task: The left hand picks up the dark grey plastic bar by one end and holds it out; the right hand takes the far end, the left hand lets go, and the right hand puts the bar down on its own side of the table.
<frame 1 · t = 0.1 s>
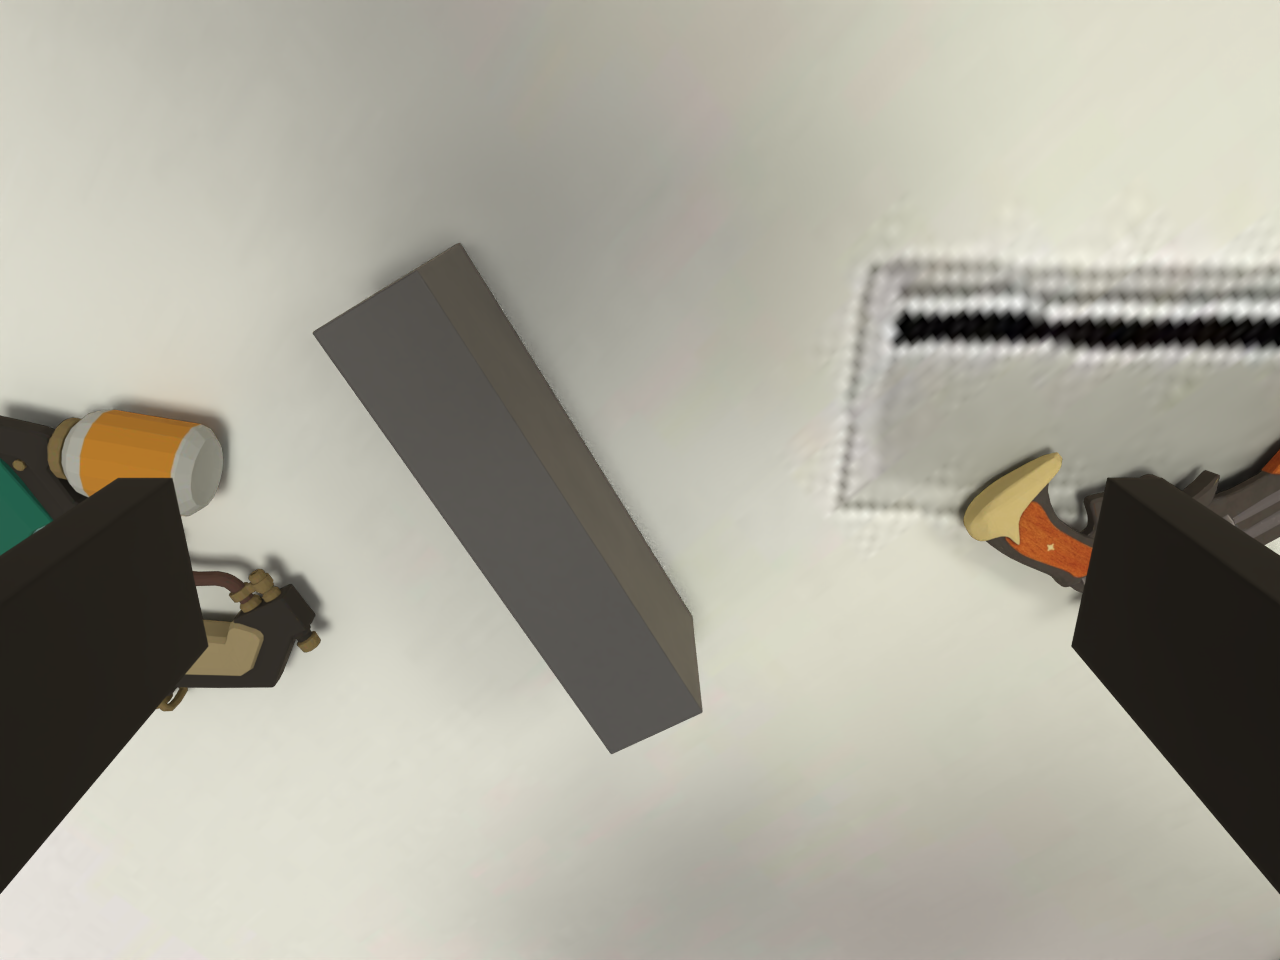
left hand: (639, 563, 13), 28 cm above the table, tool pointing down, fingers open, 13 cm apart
spray gun: (150, 545, 43), on the table
toy gun: (1169, 481, 42), on the table
bar: (545, 467, 42), on the table
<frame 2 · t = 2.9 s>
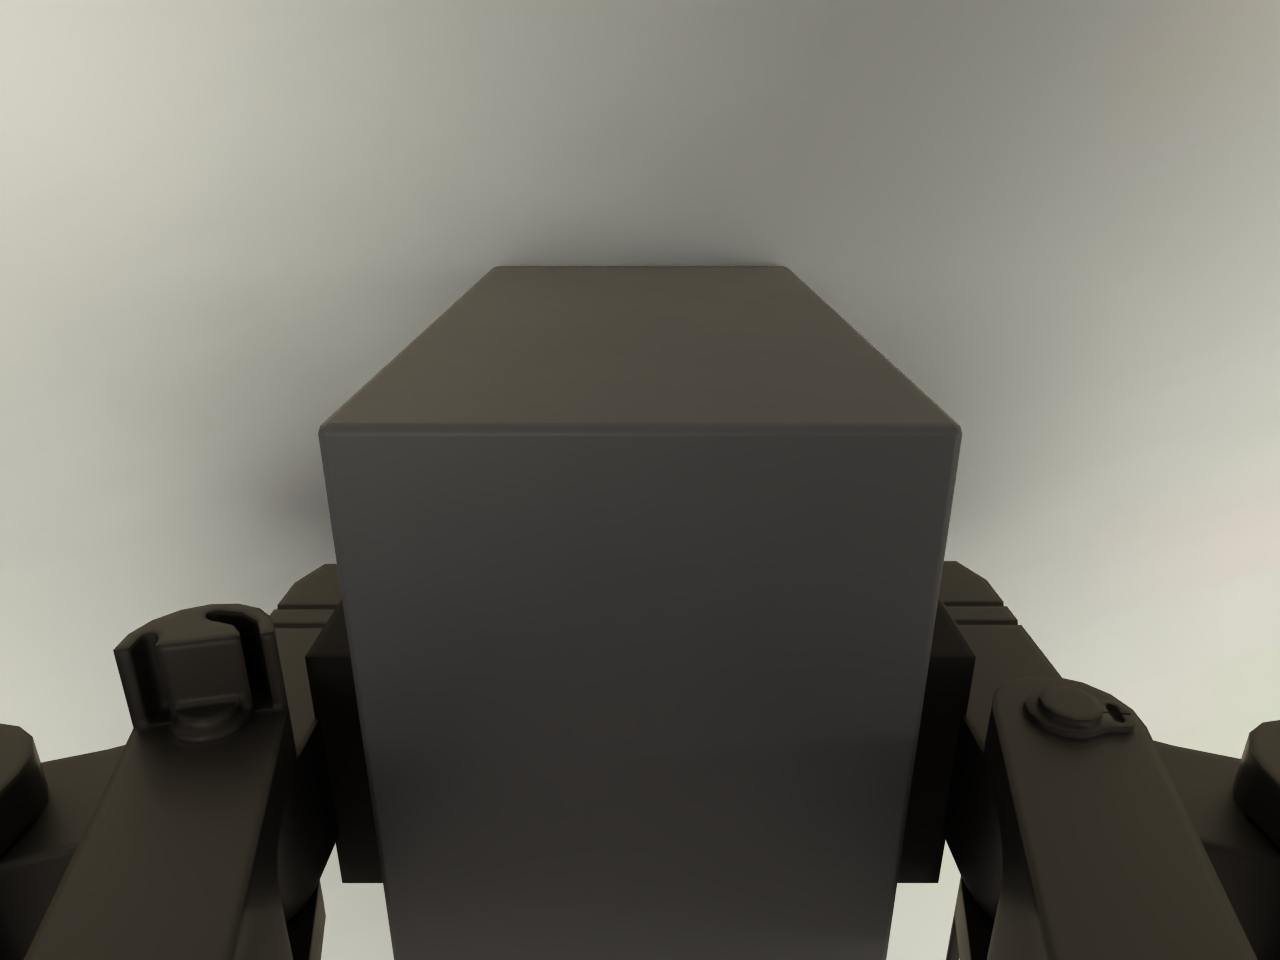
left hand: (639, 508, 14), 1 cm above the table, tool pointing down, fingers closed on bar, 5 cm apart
bar: (640, 812, 17), on the table, touching left hand
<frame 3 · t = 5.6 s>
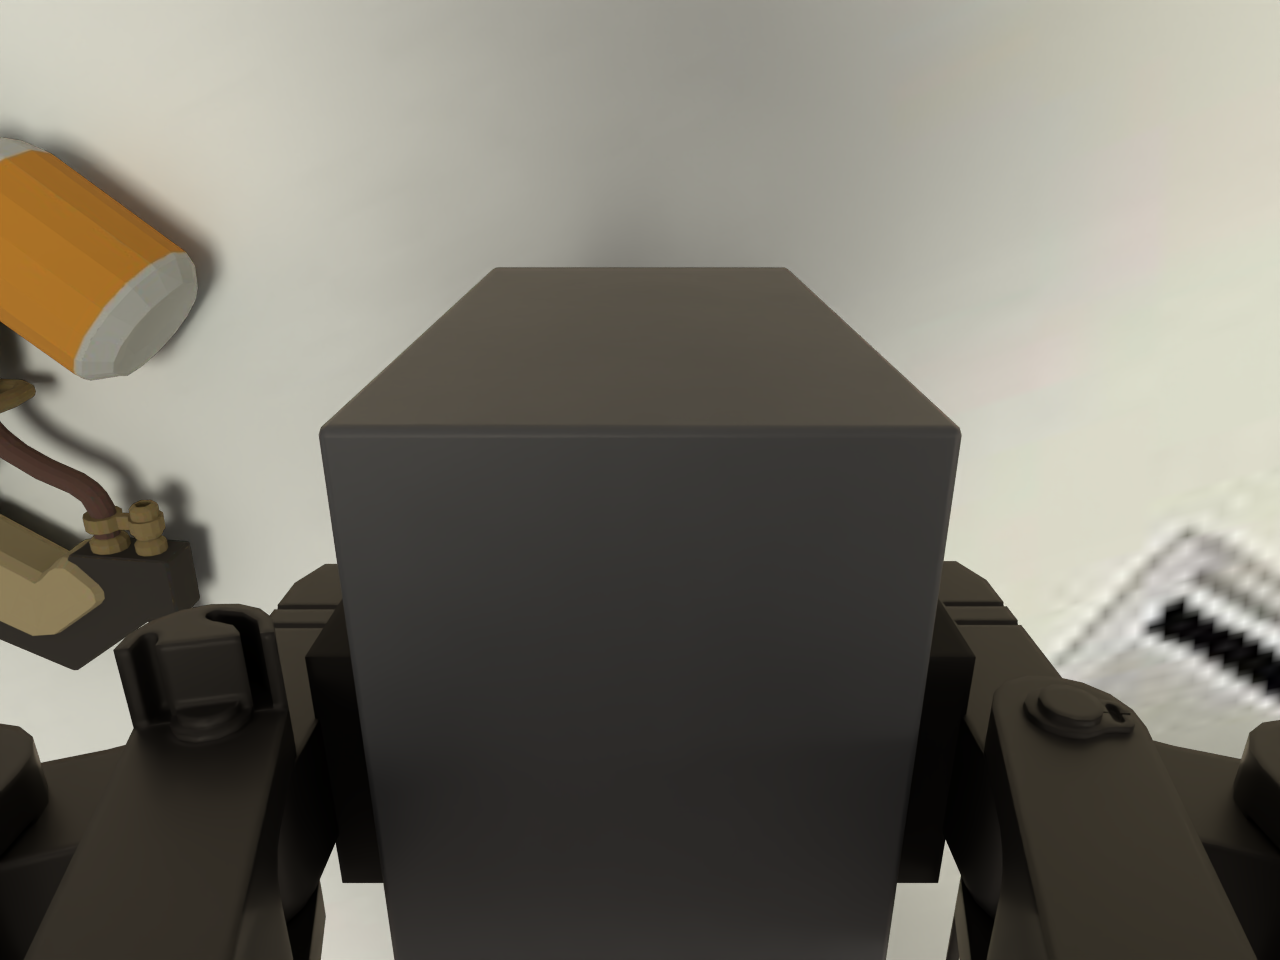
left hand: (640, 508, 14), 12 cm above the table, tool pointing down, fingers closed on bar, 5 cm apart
bar: (640, 812, 18), point 11 cm above the table, touching left hand
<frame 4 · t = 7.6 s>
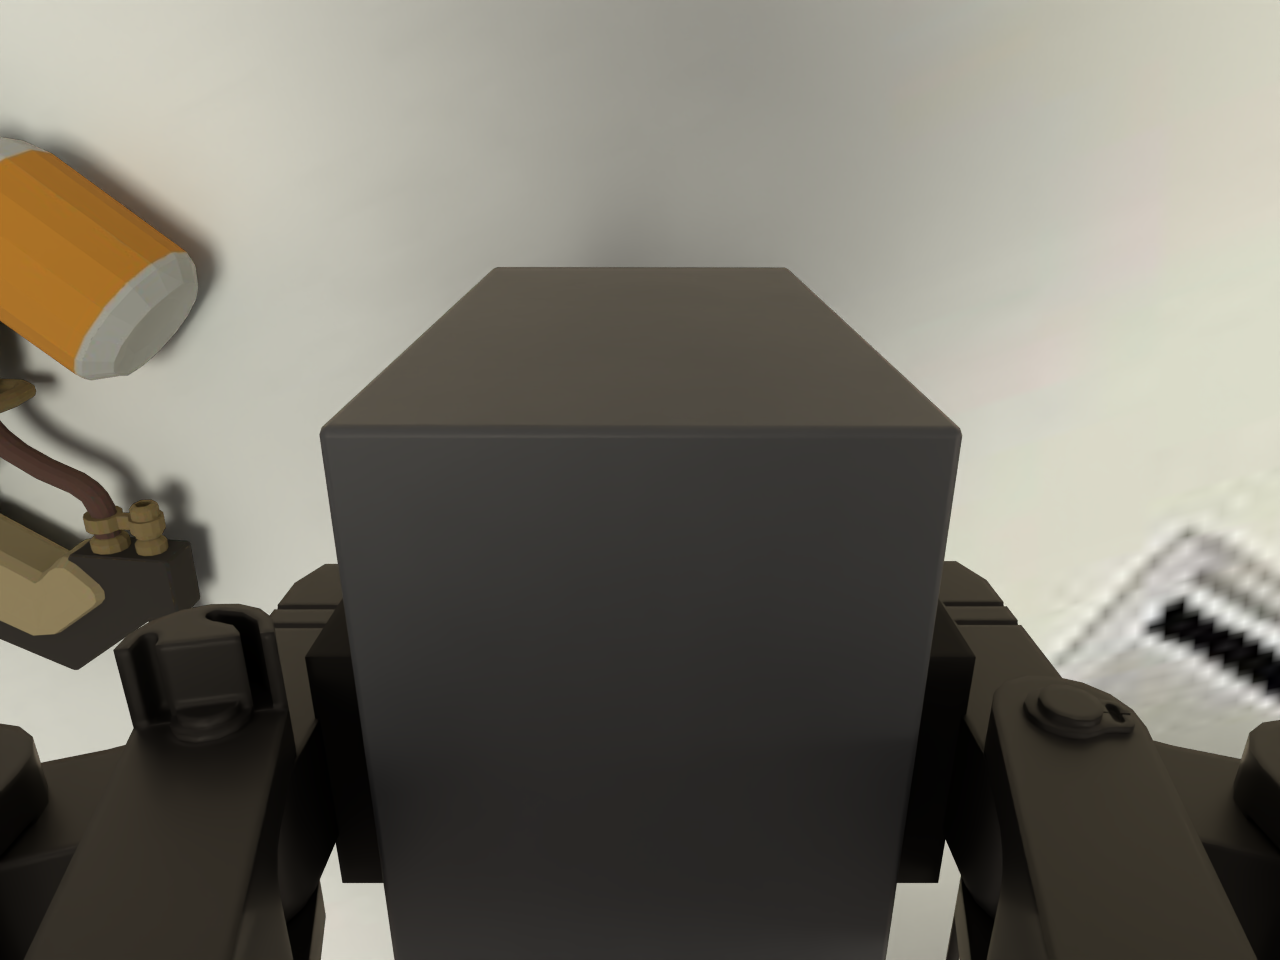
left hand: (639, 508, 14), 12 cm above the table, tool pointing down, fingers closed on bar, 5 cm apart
bar: (640, 812, 18), point 11 cm above the table, touching left hand, right hand
when the left hand's fingers open (12 cm above the table, at t = 8.3 s): bar stays where it is, held by the right hand.
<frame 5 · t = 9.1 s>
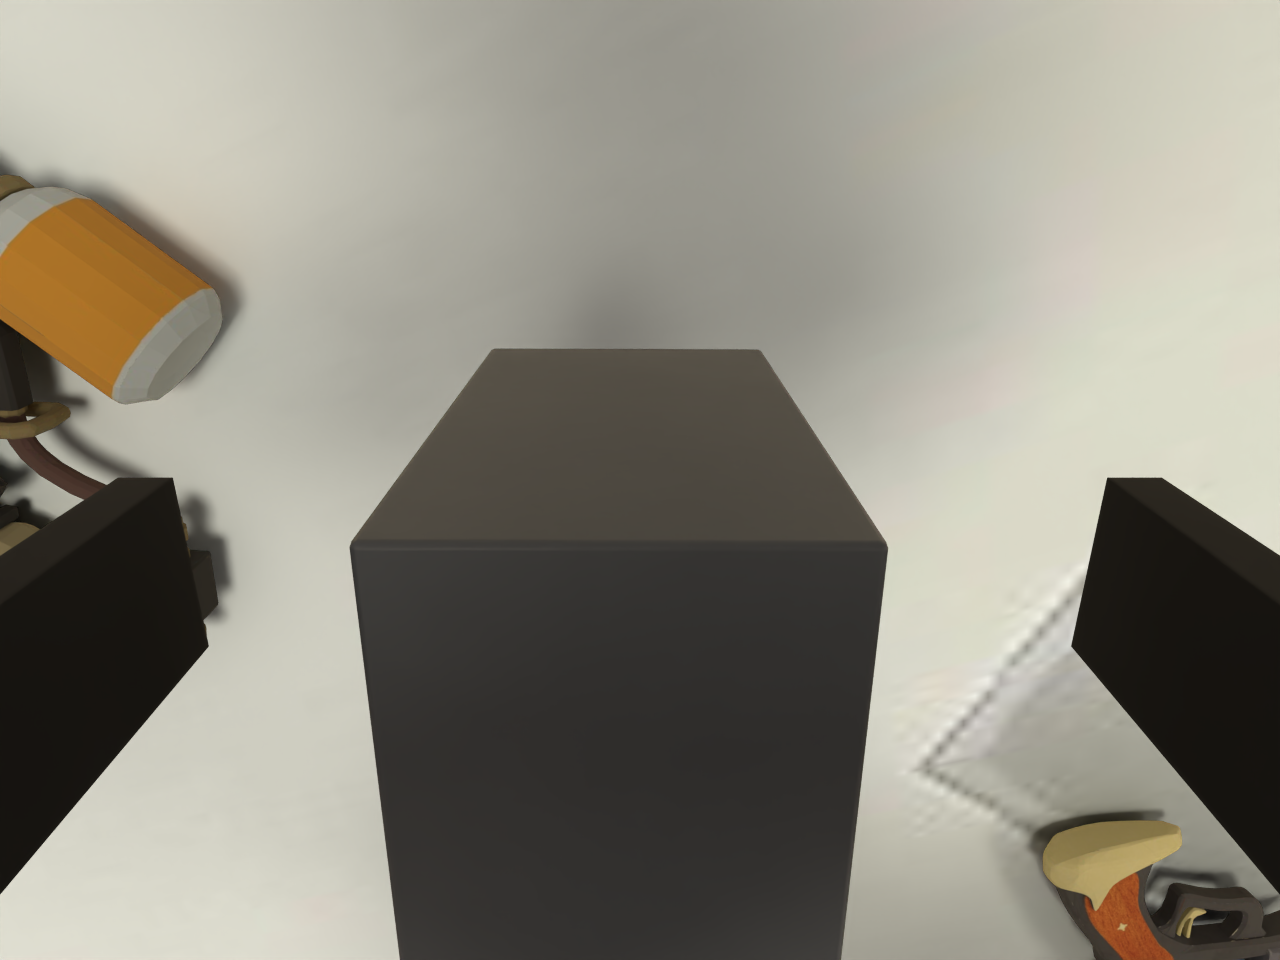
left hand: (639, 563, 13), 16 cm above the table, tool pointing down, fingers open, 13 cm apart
spray gun: (25, 398, 28), on the table
toy gun: (1246, 898, 36), on the table
bar: (626, 848, 19), point 13 cm above the table, touching right hand
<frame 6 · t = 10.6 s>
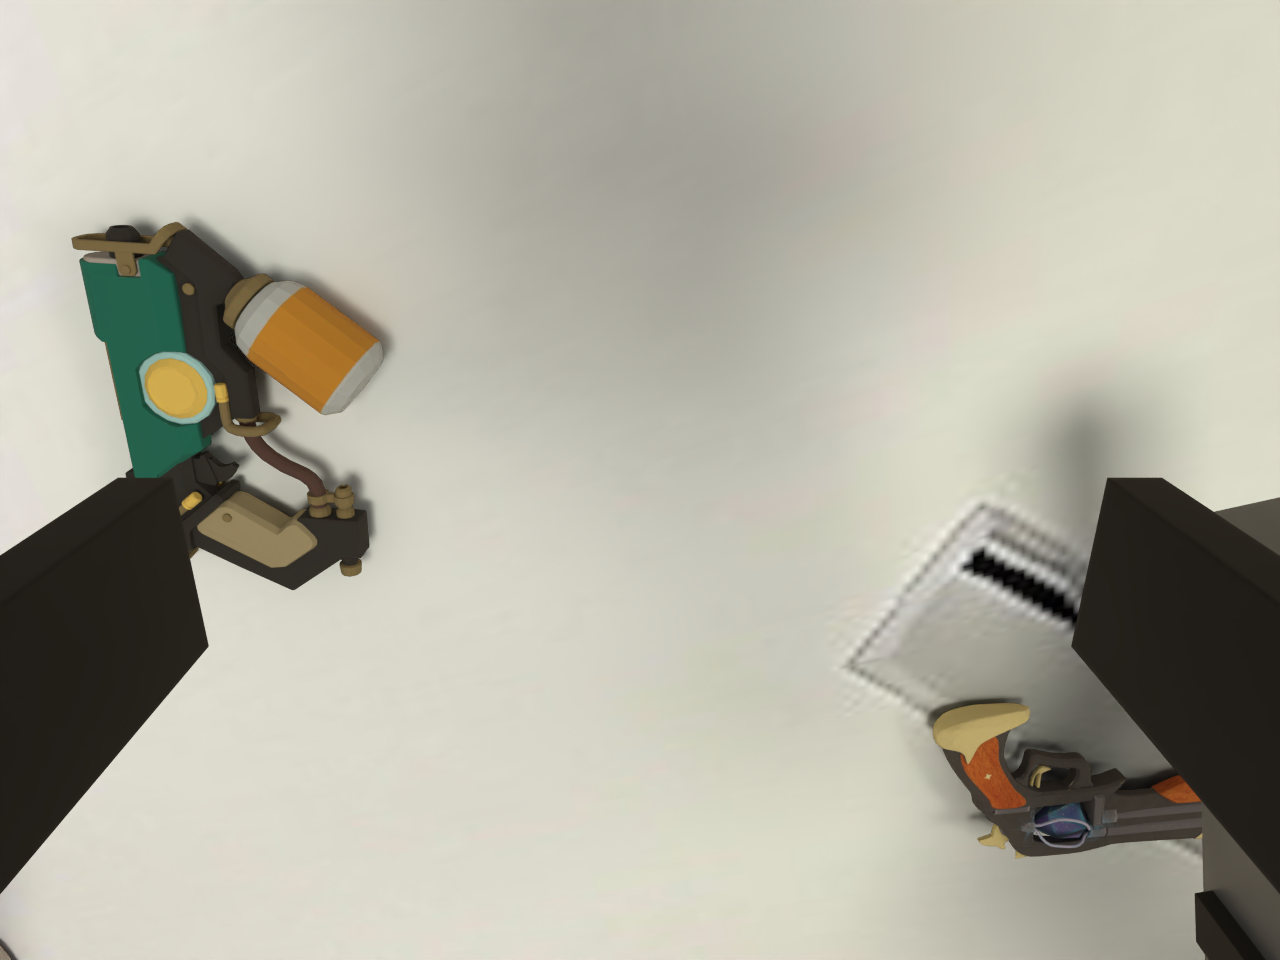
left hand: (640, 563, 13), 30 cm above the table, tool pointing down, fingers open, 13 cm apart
spray gun: (246, 409, 43), on the table
toy gun: (1085, 763, 51), on the table
bar: (1261, 752, 33), point 14 cm above the table, touching right hand
when the right hand's fingers open (2 cm above the table, at t = 13.6 s): bar drops 1 cm, on the table.
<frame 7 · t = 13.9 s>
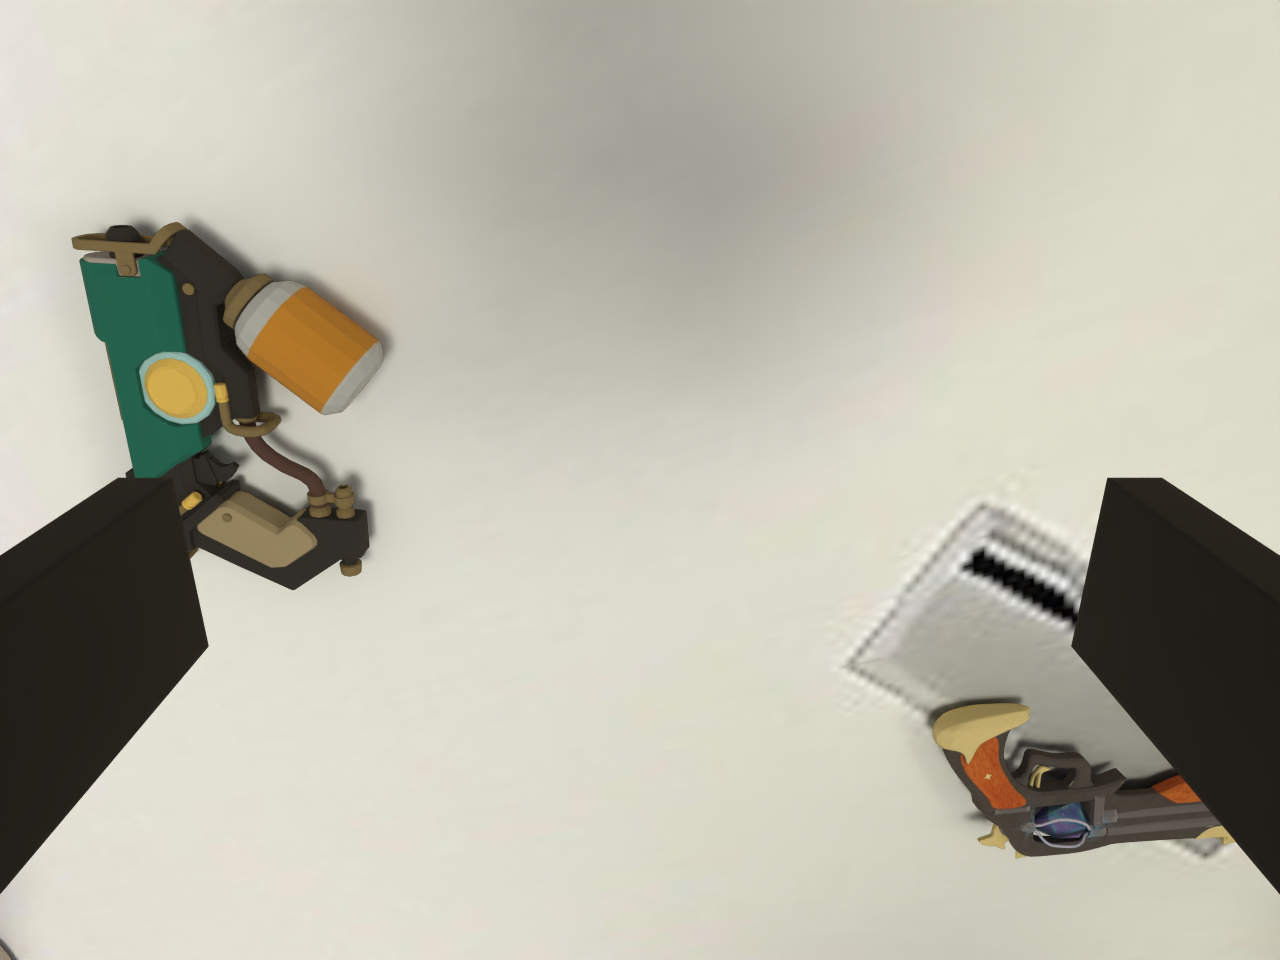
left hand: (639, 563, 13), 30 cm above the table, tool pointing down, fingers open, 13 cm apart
spray gun: (246, 409, 43), on the table
toy gun: (1085, 763, 51), on the table
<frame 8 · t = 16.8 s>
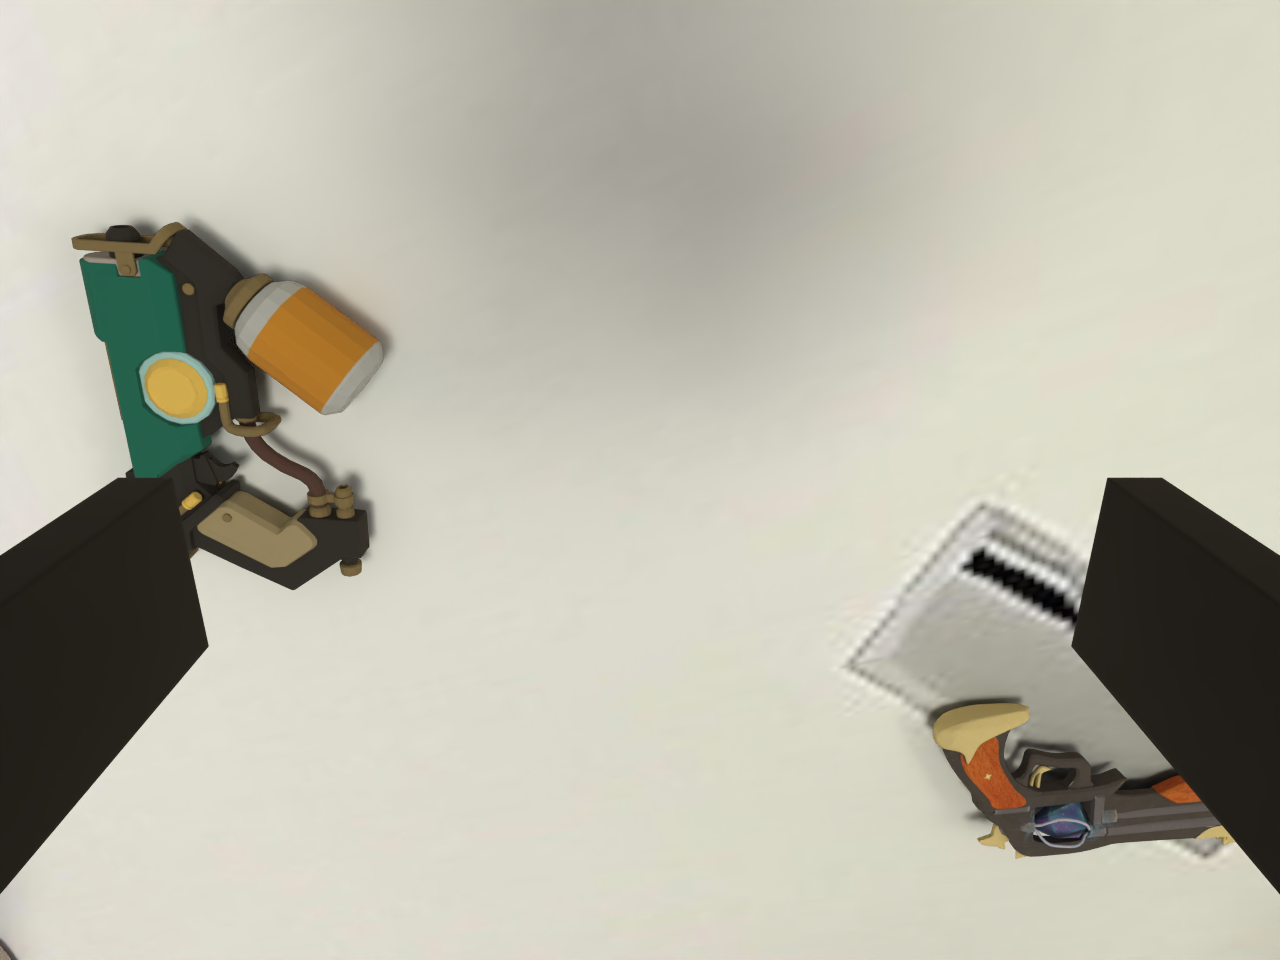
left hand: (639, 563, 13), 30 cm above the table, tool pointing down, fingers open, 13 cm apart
spray gun: (246, 409, 43), on the table
toy gun: (1085, 763, 51), on the table
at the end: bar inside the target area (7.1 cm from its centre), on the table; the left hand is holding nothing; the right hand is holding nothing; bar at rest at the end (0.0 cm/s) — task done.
